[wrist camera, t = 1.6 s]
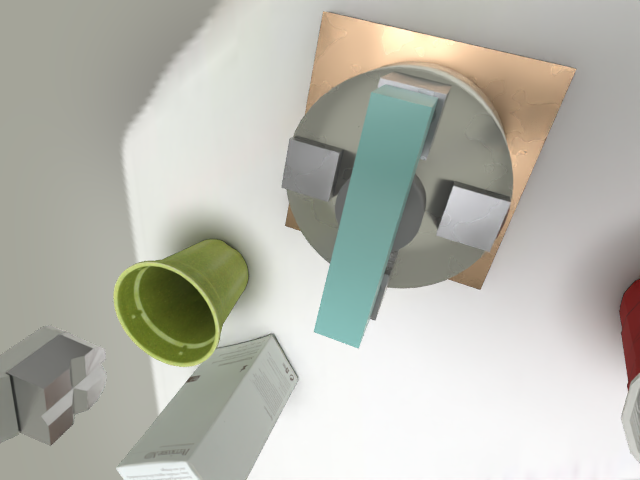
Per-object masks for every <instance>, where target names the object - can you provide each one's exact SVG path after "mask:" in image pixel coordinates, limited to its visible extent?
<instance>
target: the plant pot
mask: <svg viewBox="0 0 640 480" xmlns="http://www.w3.org/2000/svg"><path fill="white" fill-rule="evenodd" d="M247 282H248V269H247V265H246V263H245V261H244V259H243V257H242V256H241V254H240V253H239V252H238V251H237V250H235V249H233V248H231V247H230V246H228V245H227V244H226V243H225V242H223V241H221V240H216V239H208V240H204V241H202V242H199V243H197V244H195V245H193V246H191V247H189V248H187V249H184V250H182V251H180V252H178V253H176V254H174V255H171V256H169V257H167V258H165V259H162V260H156V261H144V262H140V263H137V264H134V265H132V266H131V267H129V268H127V269H126V270H125V271H124V272H123V273H122V274H121V275H120V276H119V278H118V280H117V282H116V285H115V287H114V306H115V311H116V314H117V317H118V319H119V321H120V324H121V325H122V327H123V329H124V331H125V332H126V334H127V335H128V336H129V337H130V338H131V340H132V341H133V342H134V343H135V344H136V345H137V346H138V347H139V348H141V349H142V350H143V351H144V352H146V353H147V354H148V355H150V356H151V357H153V358H155V359H157V360H159V361H161V362H163V363H166V364H169V365H173V366H179V367H189V366H195V365H198V364H200V363H202V362H204V361H206V360H207V359H208V358H209V357H210V356H211V355H212V354H213V353H214V351H215V350H216V348H217V346H218V343H219V340H220V334H221V330H222V326H223V323H224V322H225V320H226V318H227V317H228V315H229V313H230V312H231V310H232V309H233V307H234V305H235V304H236V302H237V300H238V299H239V297H240V296H241V294H242V293H243V291H244V289H245V287H246V285H247Z"/></svg>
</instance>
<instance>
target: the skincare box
mask: <svg viewBox="0 0 640 480" xmlns="http://www.w3.org/2000/svg"><path fill="white" fill-rule="evenodd" d="M297 382H298V378H297V376H296V374H295V373H294V371H293V369H292V368H291V366H290V364H289V362H288V361H287V359H286V357H285V355H284V353H283V351H282V349H281V347H280V345H279V344H278V342H277V340H276V338H275V337H274V335H268V336H266V337H263V338H260V339H257V340H253V341H249V342H246V343H241V344H237V345H233V346H228V347H223V348H217V349H216V350H215V351H214V353H213V354H212V355H211V356H210V357H209V358H208V359H207V360H206V361H204V362H202V363H201V364H200V366H199V367H198V368H197V369H196V370H195V372H194V373H193V374H192V375H191V377H190V378H189V379H188V380H187V382H186V383H185V384H184V385H183V386H182V388H181V389H180V390H179V391H178V393H177V394H176V395H175V396H174V398H173V399H172V400H171V401H170V402H169V404H168V405H167V406H166V407H165V409H164V410H163V411H162V412H161V413H160V415H159V416H158V417H157V418H156V420H155V421H154V422H153V424H152V425H151V426H150V428H149V429H148V430H147V431H146V432H145V434H144V435H143V436H142V437H141V438H140V440H139V441H138V442H137V443H136V444H135V446H134V447H133V448H132V449H131V450H130V452H129V453H128V454H127V456H126V457H125V458H124V459H123V460H122V461H121V463H120V464H119V465H118V466H117V467H116V469H117V471H118V472H119V473H120V475H121V476H122V477H123V479H124V480H246V479H247V477H248V475H249V474H250V472H251V470H252V468H253V466H254V464H255V462H256V460H257V458H258V456H259V454H260V452H261V450H262V449H263V447H264V445H265V443H266V441H267V439H268V437H269V435H270V433H271V431H272V429H273V427H274V425H275V424H276V422H277V420H278V418H279V416H280V414H281V412H282V410H283V408H284V406H285V404H286V403H287V401H288V399H289V397H290V395H291V393H292V391H293V389H294V387H295V385H296V383H297Z"/></svg>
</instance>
